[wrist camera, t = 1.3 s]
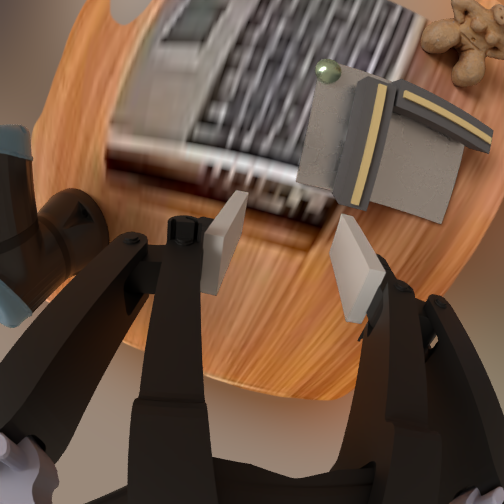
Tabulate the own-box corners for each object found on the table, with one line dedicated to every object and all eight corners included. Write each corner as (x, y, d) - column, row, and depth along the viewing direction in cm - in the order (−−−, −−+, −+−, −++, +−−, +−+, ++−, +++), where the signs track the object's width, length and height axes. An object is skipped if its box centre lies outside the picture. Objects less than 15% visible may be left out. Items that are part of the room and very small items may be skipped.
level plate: (291, 179, 33) (292, 182, 31) (316, 60, 26) (317, 56, 24) (437, 221, 32) (444, 226, 31) (464, 120, 25) (473, 121, 23)
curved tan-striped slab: (465, 147, 26) (491, 154, 20) (380, 107, 26) (398, 105, 21) (469, 126, 24) (495, 131, 19) (384, 84, 25) (403, 78, 19)
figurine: (408, 43, 22) (470, -10, 7) (424, 17, 21) (476, -28, 6) (463, 98, 23) (537, 71, 9) (474, 66, 22) (534, 39, 7)
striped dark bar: (330, 191, 32) (339, 205, 26) (355, 83, 25) (369, 75, 20) (354, 197, 32) (367, 212, 26) (380, 91, 25) (398, 86, 20)
